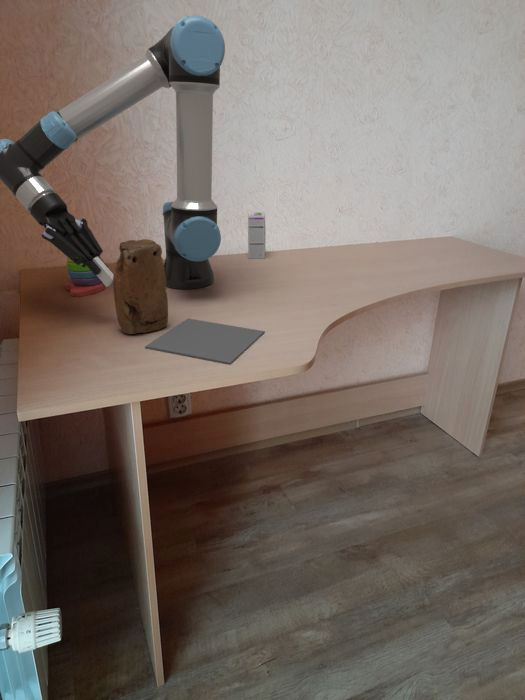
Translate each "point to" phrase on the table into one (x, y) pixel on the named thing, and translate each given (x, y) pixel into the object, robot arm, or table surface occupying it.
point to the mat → (206, 340)
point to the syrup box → (256, 235)
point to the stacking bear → (82, 280)
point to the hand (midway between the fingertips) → (111, 282)
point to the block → (140, 287)
